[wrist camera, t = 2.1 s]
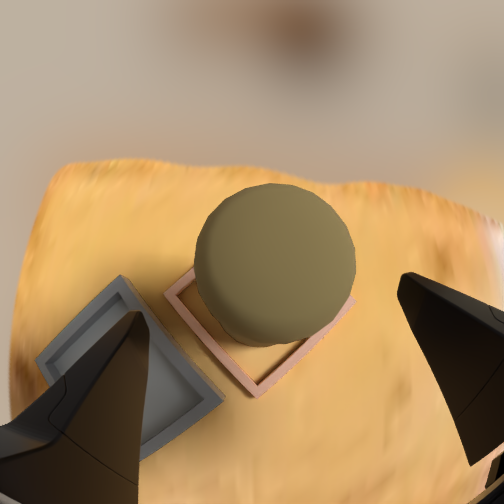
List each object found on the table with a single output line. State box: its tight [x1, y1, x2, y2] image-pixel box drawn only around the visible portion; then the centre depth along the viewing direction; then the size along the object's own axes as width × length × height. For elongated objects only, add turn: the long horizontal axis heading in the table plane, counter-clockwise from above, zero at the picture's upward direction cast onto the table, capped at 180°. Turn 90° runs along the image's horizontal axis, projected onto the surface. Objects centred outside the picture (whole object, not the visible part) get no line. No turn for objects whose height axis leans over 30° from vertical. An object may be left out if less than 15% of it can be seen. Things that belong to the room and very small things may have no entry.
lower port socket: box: [35, 275, 225, 462], centre depth 15 cm, size 10×10×2 cm
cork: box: [194, 183, 356, 347], centre depth 13 cm, size 6×6×11 cm
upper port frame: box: [163, 267, 356, 399], centre depth 18 cm, size 9×9×1 cm
